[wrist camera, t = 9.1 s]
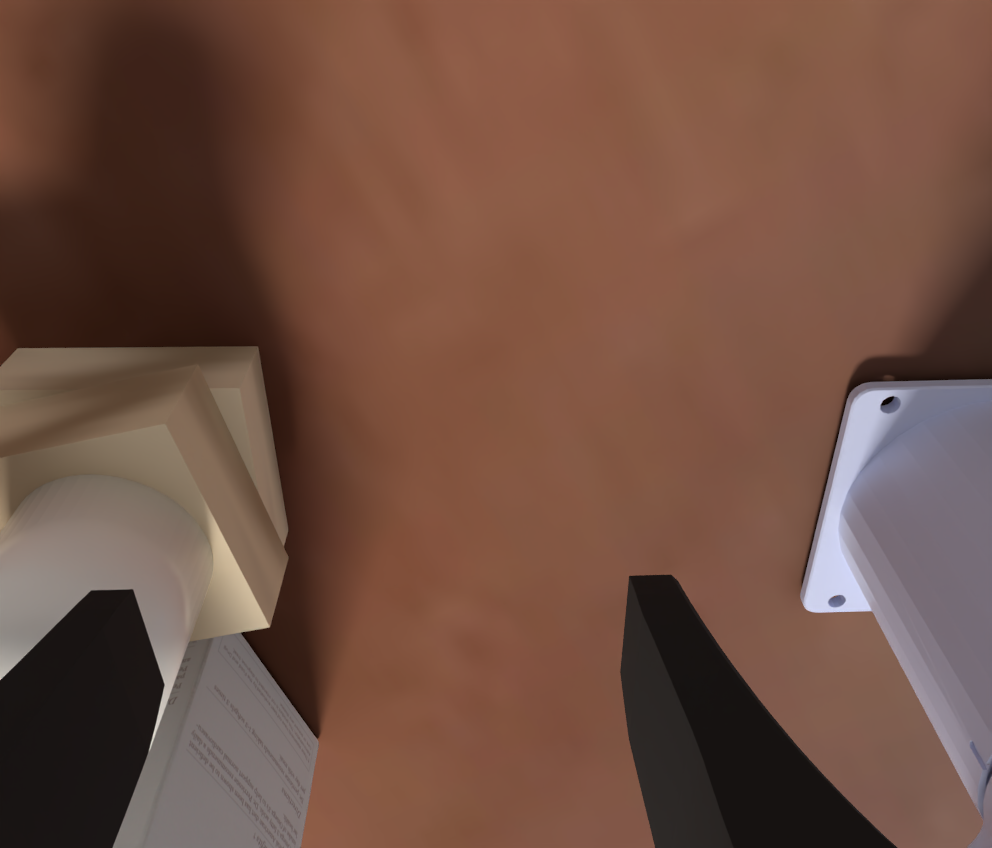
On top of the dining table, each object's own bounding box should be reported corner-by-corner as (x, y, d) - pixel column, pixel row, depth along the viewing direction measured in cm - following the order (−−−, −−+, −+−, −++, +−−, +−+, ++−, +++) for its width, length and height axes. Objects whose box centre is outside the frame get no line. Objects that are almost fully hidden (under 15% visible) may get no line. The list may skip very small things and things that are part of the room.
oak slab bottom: (261, 338, 22) (239, 388, 20) (291, 520, 26) (274, 579, 23) (25, 339, 22) (-22, 390, 20) (85, 522, 25) (50, 582, 23)
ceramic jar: (200, 477, 18) (130, 636, 15) (224, 624, 21) (170, 794, 17) (-13, 471, 18) (-139, 631, 15) (36, 620, 21) (-60, 790, 17)
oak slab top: (198, 363, 20) (165, 423, 18) (288, 557, 23) (270, 627, 21) (-43, 415, 20) (-102, 478, 18) (78, 596, 24) (40, 668, 22)
